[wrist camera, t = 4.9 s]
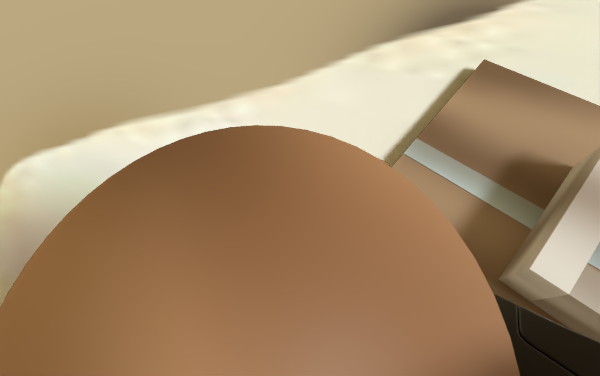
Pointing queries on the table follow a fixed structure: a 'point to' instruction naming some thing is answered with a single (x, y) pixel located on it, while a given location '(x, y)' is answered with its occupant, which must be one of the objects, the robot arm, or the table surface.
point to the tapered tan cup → (254, 271)
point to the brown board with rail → (520, 190)
